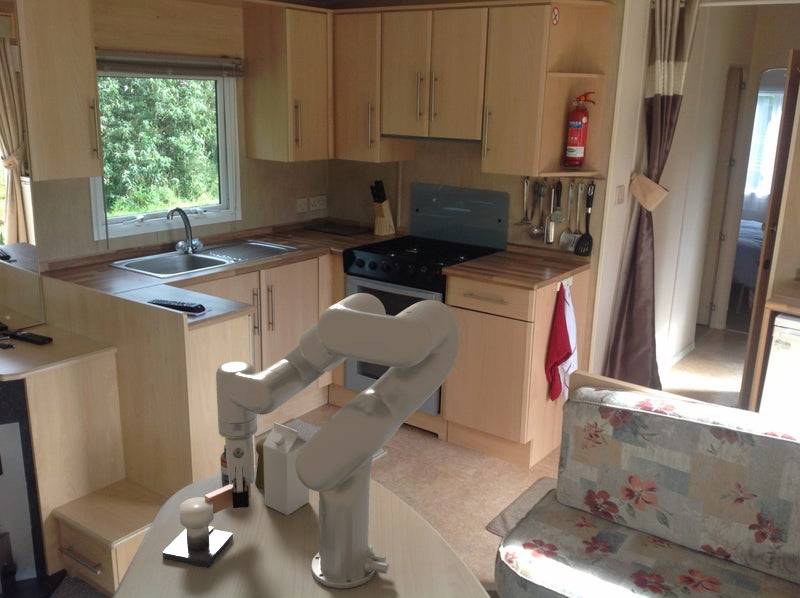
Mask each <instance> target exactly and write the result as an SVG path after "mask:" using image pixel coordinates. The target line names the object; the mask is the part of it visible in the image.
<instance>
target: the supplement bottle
mask: <svg viewBox="0 0 800 598" xmlns="http://www.w3.org/2000/svg"><path fill="white" fill-rule="evenodd" d="M220 474H221V476H220V477H221V488H222V487H224V486H227V485H229V484H230V483H229V478H228V470H227V459H226V444H224V446H223V452H222V453H221V455H220Z"/></svg>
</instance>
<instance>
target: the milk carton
mask: <svg viewBox="0 0 800 598" xmlns="http://www.w3.org/2000/svg"><path fill="white" fill-rule="evenodd" d="M266 438H267V439H266V441H265V442H264V444H263V455H264V489H263V491H264V505H265V506H267V507H269V508H271V509H273V510H275V511H278V513H279V512H280V513H282V514H284V515H286V516H288V515H291V514H292V513H294V512H296V511H297V510H298V509H300V508H301V507H303V506H304V505H307V504H308V503H309V502H310V489H309V488H307V487H306V486H305V485H304V484H303V483H302V482H301V481H300V479H299V477H298V475H297V472H296V457H297V454H298V452H299V450H300V448H301V447H302V446H303V445H304V444H305V443H306V442H307V441H308V440H306V439H305V438H302V437H301V436H300V435H299V431H298V430H297V429H296V430H295V429H293V428H291V427H288V426H286V425H283V424H280V423H277V422H275V421H274V422H273V427H272V429H271V431H270V432H269V434H268V436H267V437H266Z"/></svg>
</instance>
